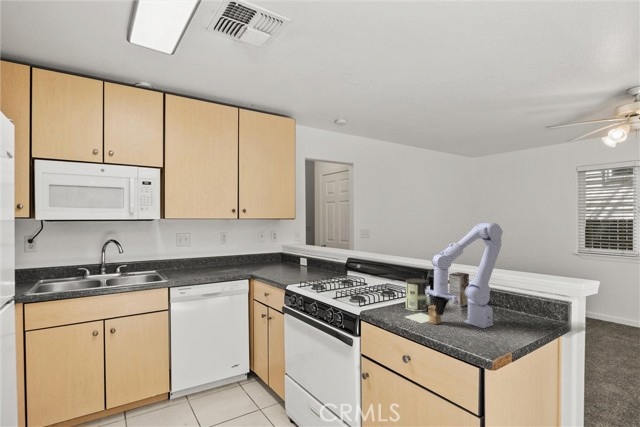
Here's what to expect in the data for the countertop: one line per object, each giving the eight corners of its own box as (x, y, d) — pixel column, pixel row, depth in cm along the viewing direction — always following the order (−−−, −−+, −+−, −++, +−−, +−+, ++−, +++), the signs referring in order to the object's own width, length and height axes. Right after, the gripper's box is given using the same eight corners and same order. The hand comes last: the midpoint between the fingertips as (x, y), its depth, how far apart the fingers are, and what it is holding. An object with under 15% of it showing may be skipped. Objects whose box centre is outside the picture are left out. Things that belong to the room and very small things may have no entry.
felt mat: (438, 319, 154) (438, 318, 154) (422, 323, 147) (422, 322, 147) (420, 313, 162) (420, 312, 162) (404, 317, 156) (404, 316, 156)
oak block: (441, 322, 148) (440, 306, 148) (435, 324, 146) (434, 307, 146) (434, 321, 151) (433, 305, 151) (429, 322, 149) (428, 306, 149)
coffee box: (457, 301, 183) (457, 271, 183) (468, 304, 179) (469, 273, 178) (448, 304, 177) (449, 273, 177) (460, 307, 173) (461, 275, 172)
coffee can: (425, 306, 174) (426, 278, 174) (427, 312, 164) (428, 283, 164) (404, 305, 176) (405, 277, 176) (405, 310, 166) (406, 281, 166)
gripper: (421, 280, 150) (420, 311, 150) (450, 287, 138) (449, 320, 138) (431, 278, 154) (430, 309, 154) (460, 285, 142) (459, 317, 142)
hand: (440, 314), depth 146 cm, fingers closed
